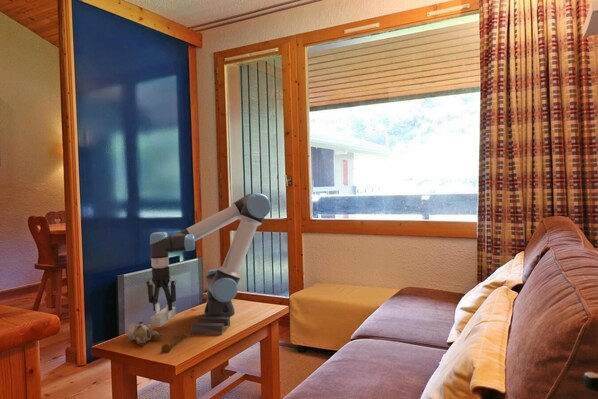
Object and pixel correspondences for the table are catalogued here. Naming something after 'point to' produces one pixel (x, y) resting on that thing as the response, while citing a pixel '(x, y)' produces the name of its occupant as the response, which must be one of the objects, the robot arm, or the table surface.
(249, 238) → the robot arm
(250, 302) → the table surface
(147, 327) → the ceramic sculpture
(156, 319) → the clay strip
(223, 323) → the dark grey rimmed tray
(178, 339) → the primitive tool
